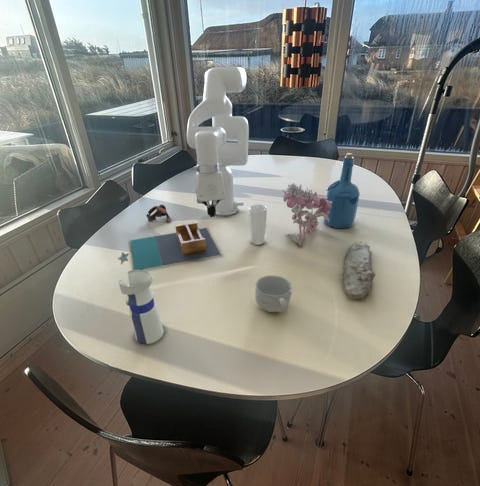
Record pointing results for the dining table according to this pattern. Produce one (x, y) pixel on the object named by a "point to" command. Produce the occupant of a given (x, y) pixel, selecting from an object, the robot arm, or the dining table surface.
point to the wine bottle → (343, 197)
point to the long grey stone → (358, 271)
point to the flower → (305, 199)
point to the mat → (166, 251)
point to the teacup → (273, 293)
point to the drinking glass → (257, 223)
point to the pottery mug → (158, 213)
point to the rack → (190, 239)
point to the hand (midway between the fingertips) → (211, 215)
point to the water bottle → (142, 305)
